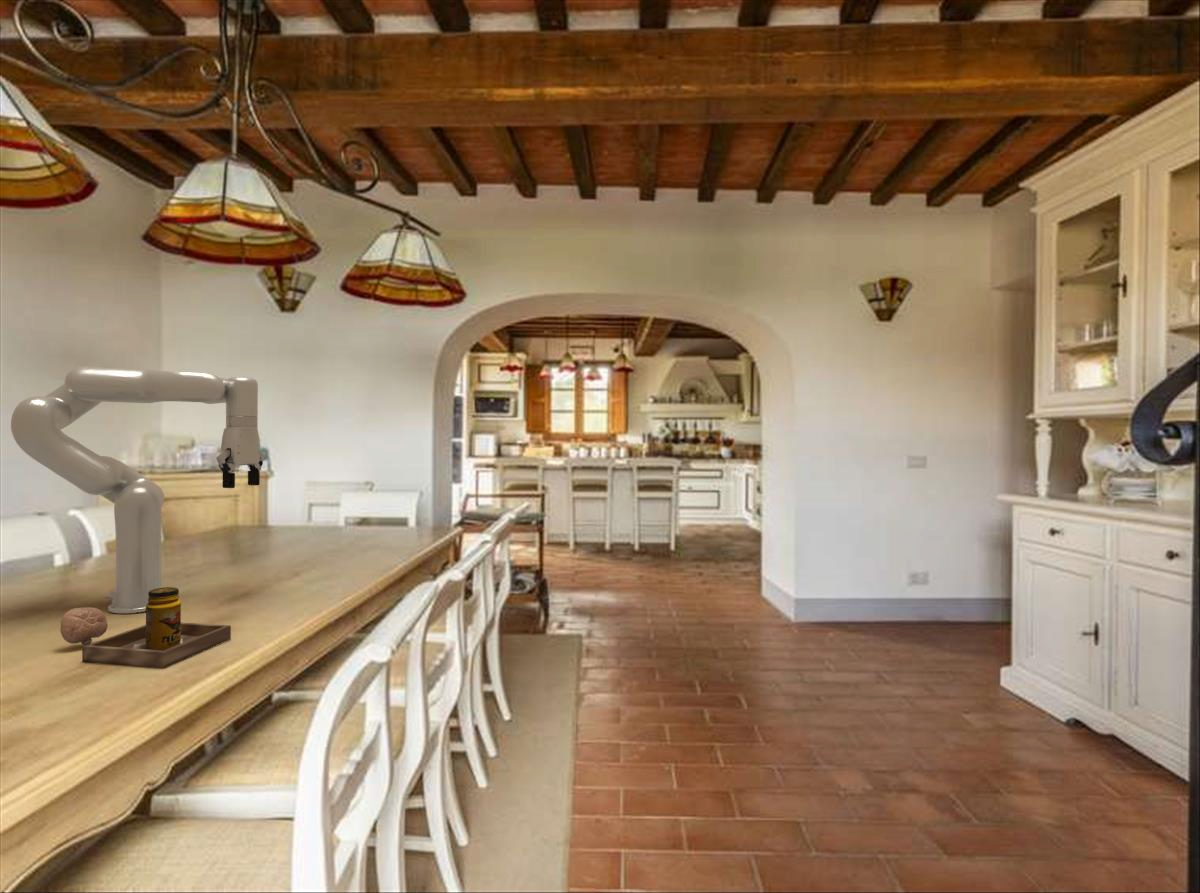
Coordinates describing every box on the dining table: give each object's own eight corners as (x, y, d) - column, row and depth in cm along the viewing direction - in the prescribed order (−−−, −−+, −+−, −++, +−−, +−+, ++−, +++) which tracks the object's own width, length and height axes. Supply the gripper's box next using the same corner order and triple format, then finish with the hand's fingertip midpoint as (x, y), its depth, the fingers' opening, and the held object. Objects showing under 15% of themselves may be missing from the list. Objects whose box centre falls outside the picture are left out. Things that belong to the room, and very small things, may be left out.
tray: (82, 661, 128) (82, 646, 128) (157, 634, 146) (157, 620, 146) (164, 668, 125) (164, 652, 125) (230, 639, 143) (230, 625, 143)
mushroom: (110, 639, 142) (110, 602, 142) (103, 648, 136) (103, 609, 136) (65, 644, 138) (65, 606, 138) (57, 653, 133) (57, 613, 133)
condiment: (182, 649, 135) (183, 591, 134) (132, 656, 130) (132, 596, 130) (182, 639, 141) (182, 584, 140) (134, 646, 136) (134, 588, 136)
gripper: (250, 423, 186) (250, 483, 187) (205, 422, 169) (205, 488, 170) (275, 424, 185) (274, 484, 186) (231, 422, 168) (231, 489, 168)
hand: (241, 486), depth 178 cm, fingers open, 9 cm apart
